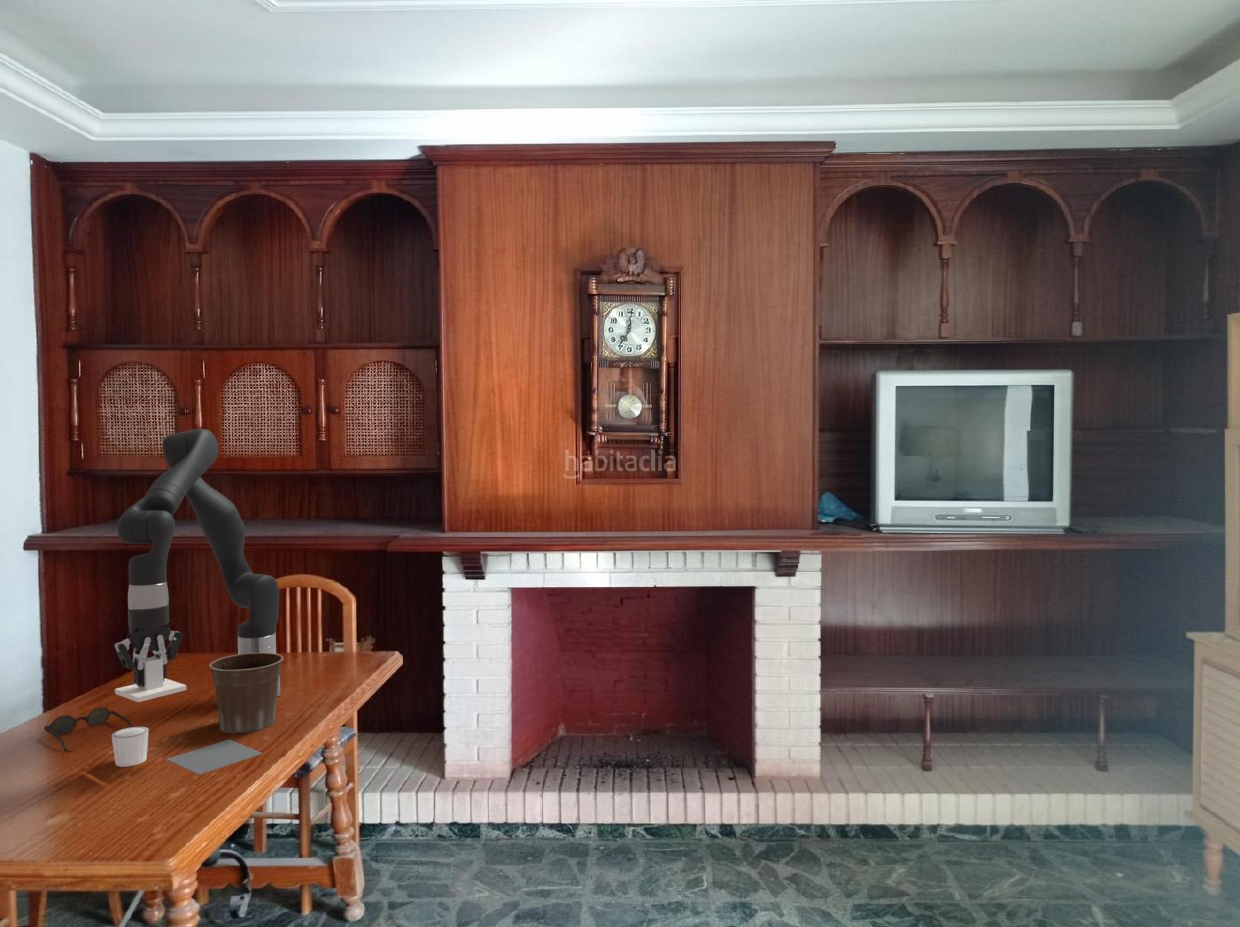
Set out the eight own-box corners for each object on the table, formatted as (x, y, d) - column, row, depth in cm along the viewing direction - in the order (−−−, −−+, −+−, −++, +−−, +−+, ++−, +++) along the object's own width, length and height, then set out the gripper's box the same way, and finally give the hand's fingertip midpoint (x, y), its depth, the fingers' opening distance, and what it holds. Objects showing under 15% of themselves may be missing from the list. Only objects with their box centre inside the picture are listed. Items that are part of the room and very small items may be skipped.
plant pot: (253, 711, 212) (251, 648, 211) (299, 720, 205) (297, 656, 204) (195, 732, 197) (193, 665, 197) (243, 743, 190) (241, 673, 190)
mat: (229, 741, 191) (229, 739, 191) (263, 755, 183) (263, 753, 183) (166, 761, 180) (166, 758, 180) (199, 777, 172) (199, 774, 172)
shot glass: (132, 771, 175) (131, 738, 175) (104, 769, 176) (103, 736, 176) (157, 758, 182) (156, 727, 181) (129, 756, 183) (128, 725, 183)
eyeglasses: (113, 722, 206) (113, 702, 205) (138, 736, 196) (137, 715, 196) (44, 739, 194) (43, 718, 194) (67, 755, 185) (66, 733, 185)
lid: (163, 682, 186) (162, 650, 185) (186, 689, 180) (185, 657, 180) (115, 693, 177) (114, 660, 177) (138, 702, 172) (137, 668, 171)
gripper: (173, 596, 186) (174, 673, 186) (104, 607, 174) (106, 689, 175) (190, 600, 182) (192, 678, 182) (121, 612, 170) (123, 695, 171)
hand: (150, 683), depth 179 cm, fingers closed on lid, 3 cm apart
